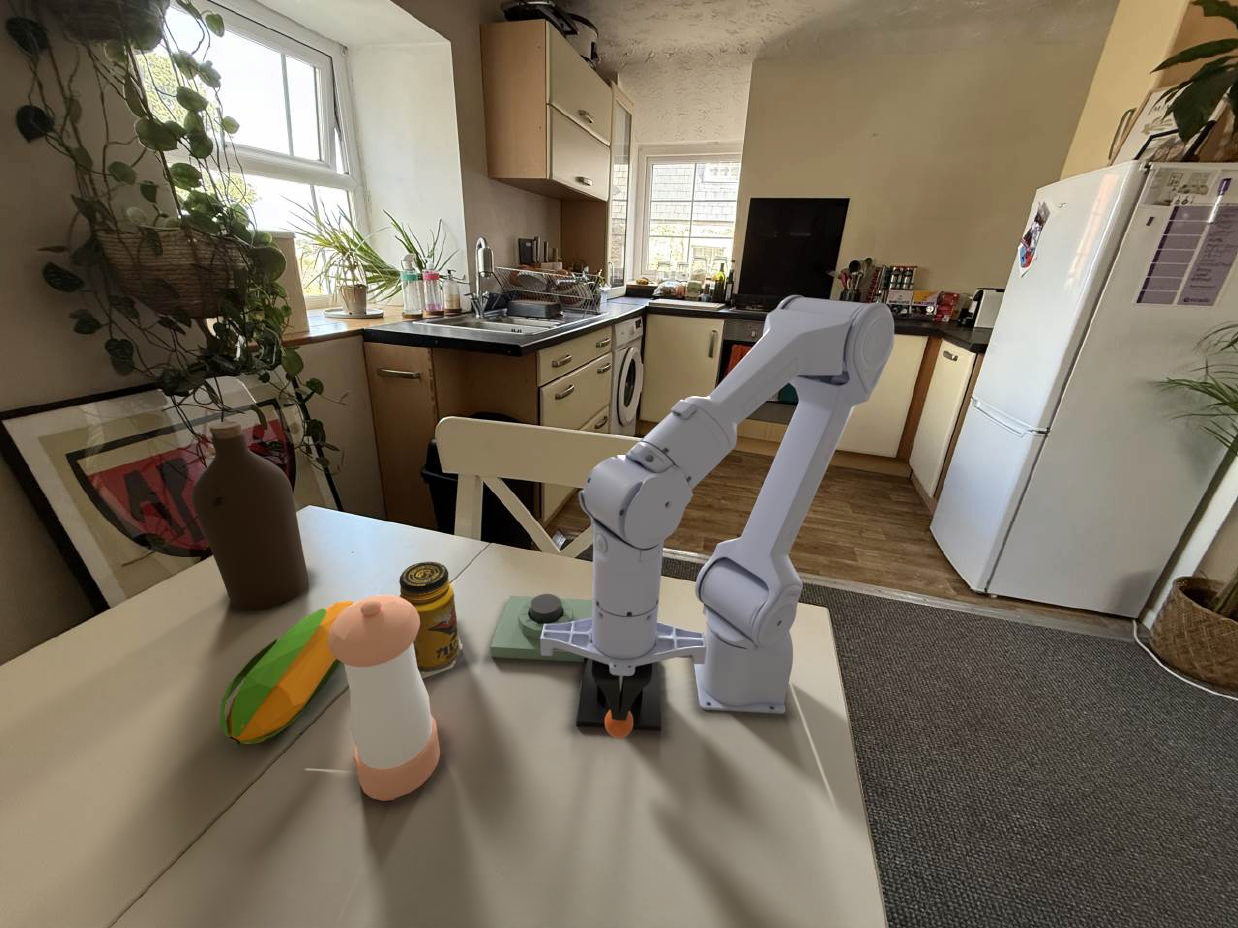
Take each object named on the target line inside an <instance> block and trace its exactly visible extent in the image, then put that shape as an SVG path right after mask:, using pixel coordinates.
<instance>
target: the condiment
mask: <svg viewBox="0 0 1238 928" xmlns="http://www.w3.org/2000/svg"><path fill="white" fill-rule="evenodd" d="M398 582H399V585H400V589H399V593H400V594H399V597H401V598H403V599H405V600H407V601H408V602H410V603H411V604H412V605H413V606H414V608H415V609H416V610H417V612H418V614H419V618H420V626H419V630H418V633H417V635H416V638H415V640H414V642H413V645H414V651H415V657H416V663H417V668H418V670H419V673H420V675H421V678H422V680H423V679H425V678H429V677H431V676H434V675H438V674H439V673H443V672H445V671H447V670H451V669H452V668H454V667H455V664H456V662H457V660H458V658H459V655H460V654H461V651H462V649H463V647H464V645H463V643H462V641H461V639H460V637H459V626H458V620H457V611H456V602H455V593H454V588H453V585H452V584H451V583H450V578H449V570H448V568H447V567H446V566H445V564H442V563H440V562H436V561H423V562H417V563H414V564H412V565H409V566H408V567H407V568H406V569H404V571H402V573H401V575H400V576H399V581H398Z"/></svg>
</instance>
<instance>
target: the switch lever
mask: <svg viewBox="0 0 1238 928" xmlns="http://www.w3.org/2000/svg"><path fill="white" fill-rule="evenodd" d="M619 678H620V691H621V684H622V678H623V676H621V675H619ZM633 723H634V722H633V716H632V714H631V712H630V711H629V712H628V715H627V719H626V720H613V719H612V715H611V711H610V710H609V711H608V712H607V714H606V716H605V728H604V729H605V730H606V732H607V733H608V734H609V735H610V736H611V737H612V738H615V739H624V738H625V737H627V736H628V735H630V733H631V732H632V730H633V729H632V728H633Z"/></svg>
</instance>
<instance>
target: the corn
mask: <svg viewBox="0 0 1238 928" xmlns="http://www.w3.org/2000/svg"><path fill="white" fill-rule="evenodd" d="M352 604H354V602H353V600H343V601H337V602H335V603H333V604H332V605H330V606H328V607H327V608H319V609H317V610H315V611H314V612H312V613H310V614H308V615H307V616H305V617H303V618H302V619H301V620H299V621H298V622H296V623H295V624H294V625H293V626H292V627H291V628H289V629H288V630H287V631H286V632H285V633H284V634H283V635H282V636H280V638H279V639H278V638H276V639H275V640H273V641H272V642H270V643H268V644H267V645H266V646H265V647H264V648H262V649H261V650H260V651H258V652H257V653H256V654H255V655H254V656H252V657H251V658H250V660H249V661H248V662H246V664H245V665H244V666H243V667H242V668H241V669H240V670H239V671H238V672H237V673H236V675H234V677H233V678H232V679H231V681H230V682H229V684H228V685H227V687H226V689H225V692H224V695H223V697H222V699H221V708H220V716H219V725H220V727H221V730H222V731H223V732H224V735H225V736H226V738H229V739H231V740H232V741H233V742H235V743H236V744H237V745H238V746H239V745H241V744H244V745H255V744H258V743H260V742H261V743H262V742H264V741H265V740H269V739H271V738H272V737H275V736H276V735H277V734H279V733H280V732H282V731H283V730H284V729H287V728H288V727H289V726H290V725H292V724H293V723H294V722H295V721H296V720H297V719H298V718H299V716H301V714H302V713H303V712H305V710H306V709H307V708H308V706H309V705H310V704H311V703H312V702H313V701H314V699H315V698H316V697H317V696H318V694H320V692H321V691H322V689H323V688H324V687H325V686H326V685H327V683H328V682H329V680H330V679H331V677H332V675H333V674H334V672H335V671H336V669H337V668H338V666H339V664H340V663H341V661H339V660H338V659H336V658H335V657H334V655H333V654H332V653H331V651H330V649H329V647H328V639H329V630H330V628H331V626H332V625H333V623H334V621H335V620H336V618H337V616H338V615H339V614H340V613H341V612H342V611H343V610H344V609H345V608H347V607H348V606H350V605H352ZM239 686H240V687H239ZM238 687H239V689H238V690H237V688H238ZM236 690H237V692H236V695H235V696H234V698H233V699H232V702H231V705H230V708H229V711H228V714H227V716H226V708H227V703H228V700H229V698H230V697H231V696H232V695H233V693H235V691H236Z"/></svg>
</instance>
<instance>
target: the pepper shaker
mask: <svg viewBox="0 0 1238 928" xmlns="http://www.w3.org/2000/svg"><path fill="white" fill-rule="evenodd" d="M419 626H420V618H419V614H418V612H417V610H416V609H415V608H414V606H413V605H412V604H411V603H410V602H408V601H407V600H405V599H403V598H401V597H400V595H399V596H398V595H392V594H378V595H374V596H368V597H365V598H363V599H361V600H358V601H355V602H353V604H352V605H350V606H348V607H347V608H345V609H344V610H343V611H342V612H341V613H340V614H339V615H338V616H337V618H336V620H335V621H334V623H333V625H332V626H331V628H330V630H329V639H328V647H329V649H330V651H331V653H332V654H333V655H334V657H335V658H336V659H338V660H339V661H340V663H343V665H344V670H345V674H346V678H347V683H348V687H349V693H350V731H351V735H352V739H353V742H354V744H355V745H354V747H353V762H354V766H355V770H356V774H357V778H358V783H359V785H360V787H361V789H362V791H363V793H364V794H365V795H367V796H368V797H369V798H371V799H374V800H378V801H380V802H381V801H382V802H386V801H394V800H395V799H397V798H399V797H402V796H405V795H408V794H410V793H412V792H413V791H415V790H416V789H418V788H420V787H421V786H422V785H423V784H424V783H425V782H426V781H427V780H428V779H429V778H430V777H431V776H432V774H433V773H434V771H435V769H436V767H437V766H438V764H439V760H440V755H441V749H440V740H439V735H438V734H439V733H438V726H437V721H436V720H435V718H434V717H433V715H432V714H431V703H430V695H429V694H428V691H427V689H426V685H425V683H424V680H423V679H422V678H421V675H420V673H419V670H418V668H417V663H416V657H415V651H414V645H413V642H414V640H415V638H416V635H417V633H418V630H419ZM336 659H335V660H336Z"/></svg>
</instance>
